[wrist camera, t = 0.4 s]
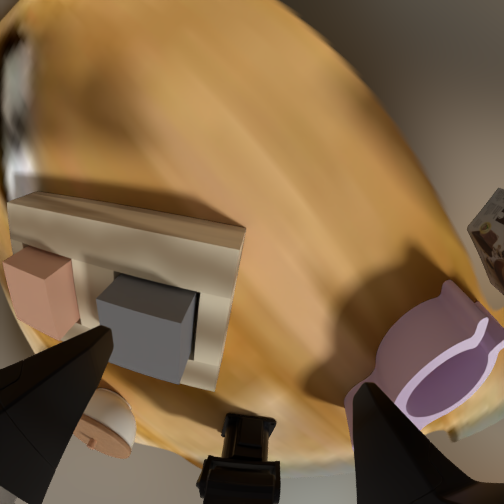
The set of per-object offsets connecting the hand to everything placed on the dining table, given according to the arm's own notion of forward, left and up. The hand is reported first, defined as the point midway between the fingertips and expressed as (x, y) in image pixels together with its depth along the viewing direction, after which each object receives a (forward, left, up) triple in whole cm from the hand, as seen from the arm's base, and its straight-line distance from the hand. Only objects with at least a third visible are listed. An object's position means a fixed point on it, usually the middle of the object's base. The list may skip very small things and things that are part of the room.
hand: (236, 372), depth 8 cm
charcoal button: (-7, +7, -10) cm, 14 cm away
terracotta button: (-7, +17, -10) cm, 21 cm away
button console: (-7, +12, -14) cm, 20 cm away
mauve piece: (-11, -20, -14) cm, 27 cm away
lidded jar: (-30, +16, -14) cm, 37 cm away
